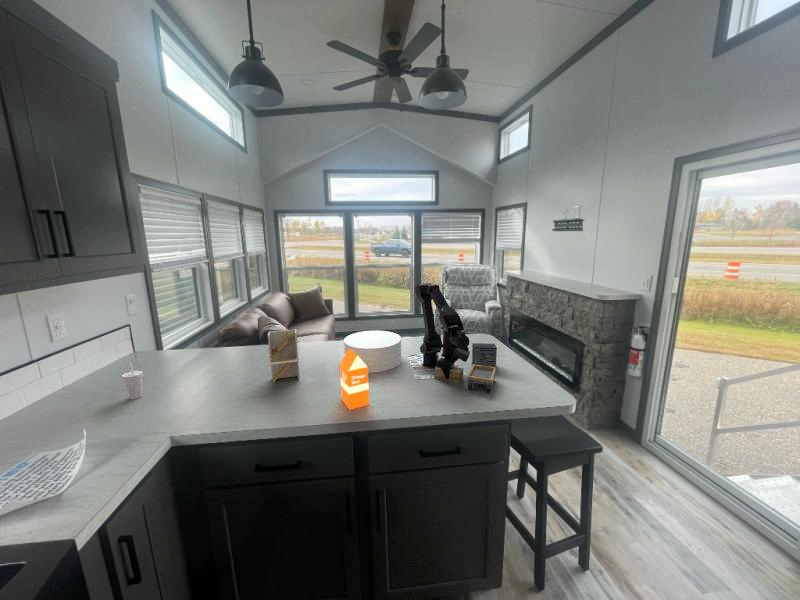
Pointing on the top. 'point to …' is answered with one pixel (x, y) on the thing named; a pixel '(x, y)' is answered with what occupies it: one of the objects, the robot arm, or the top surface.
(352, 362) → the orange juice
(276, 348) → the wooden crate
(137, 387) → the smoothie
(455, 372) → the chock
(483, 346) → the small box
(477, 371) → the wooden frame tray
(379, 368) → the plate stack
